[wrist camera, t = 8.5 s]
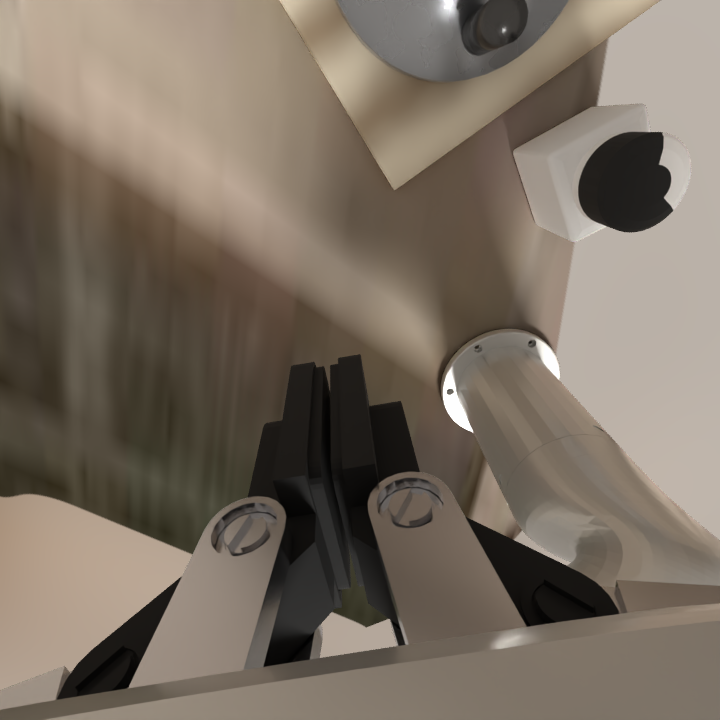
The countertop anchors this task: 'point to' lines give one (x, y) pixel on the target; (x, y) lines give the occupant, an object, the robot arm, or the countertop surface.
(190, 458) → the countertop surface
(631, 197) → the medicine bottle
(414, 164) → the base board
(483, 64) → the flange plate
